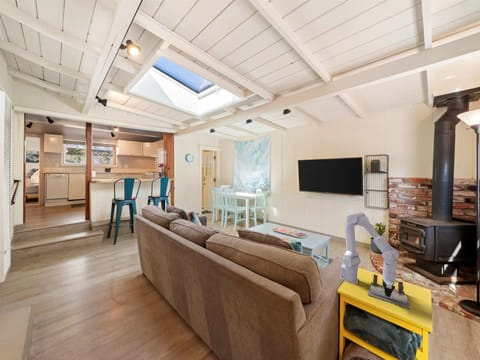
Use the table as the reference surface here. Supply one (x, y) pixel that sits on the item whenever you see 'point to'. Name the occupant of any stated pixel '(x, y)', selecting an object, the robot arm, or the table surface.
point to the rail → (394, 295)
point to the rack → (374, 283)
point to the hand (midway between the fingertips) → (387, 294)
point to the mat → (388, 299)
